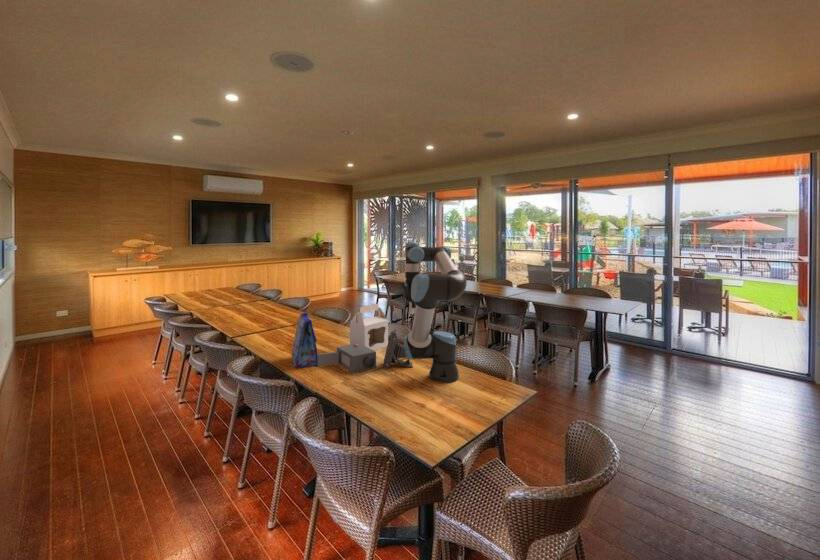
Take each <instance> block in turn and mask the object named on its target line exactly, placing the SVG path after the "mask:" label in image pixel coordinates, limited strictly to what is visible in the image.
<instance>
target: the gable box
mask: <svg viewBox="0 0 820 560" xmlns="http://www.w3.org/2000/svg"><path fill="white" fill-rule="evenodd" d="M357 310H358V311H357V312H356V313H355V314H354V316H353V318H352V319H351V321H350V322H349V345H352V344H357V343H359V344H361V345H364V346H366V347H368V348H370V349H372V350H374V351H376V350H380V349H383V348H385V347H386V348H387V345H388V341H389V320H388V318H387V316H386V315H385V313H384V312H383V310H382V308H381V307H379V303H377V302H376V303H371V304H367V305H361V306H359V307H358V309H357ZM371 312H374V316H372V317H367V318H363V314H366V313H371ZM368 333H369V334H368Z"/></svg>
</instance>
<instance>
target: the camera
mask: <svg viewBox="0 0 820 560" xmlns="http://www.w3.org/2000/svg"><path fill="white" fill-rule="evenodd" d="M403 359H406V360H403ZM392 364H394V365H397V366H398V365H399V366H403V367H407V368H411V369H412V368H413V367H414V366H413V361H410V359H407V358H406V354H405V346H404V344H402V343H400V342H399V341H398V333H397V330H396V329H393V330H392V331H391V332H390V334H388V345H387V346H386V351H385V354H384V358H383V367H384V368H385V369H389V368H390V367H391V365H392Z"/></svg>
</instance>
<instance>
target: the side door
mask: <svg viewBox="0 0 820 560" xmlns="http://www.w3.org/2000/svg"><path fill="white" fill-rule="evenodd" d="M340 363H341V360H340V351H338V352H337V351H333V352H324V353H318V354H317V364H318V366H317V367H325V366H331V365H337V364H339V365H340Z"/></svg>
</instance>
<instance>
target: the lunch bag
mask: <svg viewBox="0 0 820 560" xmlns="http://www.w3.org/2000/svg"><path fill="white" fill-rule="evenodd" d="M296 322H297V323H296V328H295V333H294V339H293V344H292V350H291V359H292V362H293V365H294V368H295V369H299V368H300V369H301V368H303V367H307V366H309V367H311V366H313V367H319V366H318V364H317V354H319V352H318V349H317V342H318V341H317V338H316V334H315V330H314V327H313V322H312V319H311V318H310V317H309V314H308V312H307V311H305V312H304V311H303V312H302V313H300V314H299V316H298V319H297V321H296Z"/></svg>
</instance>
